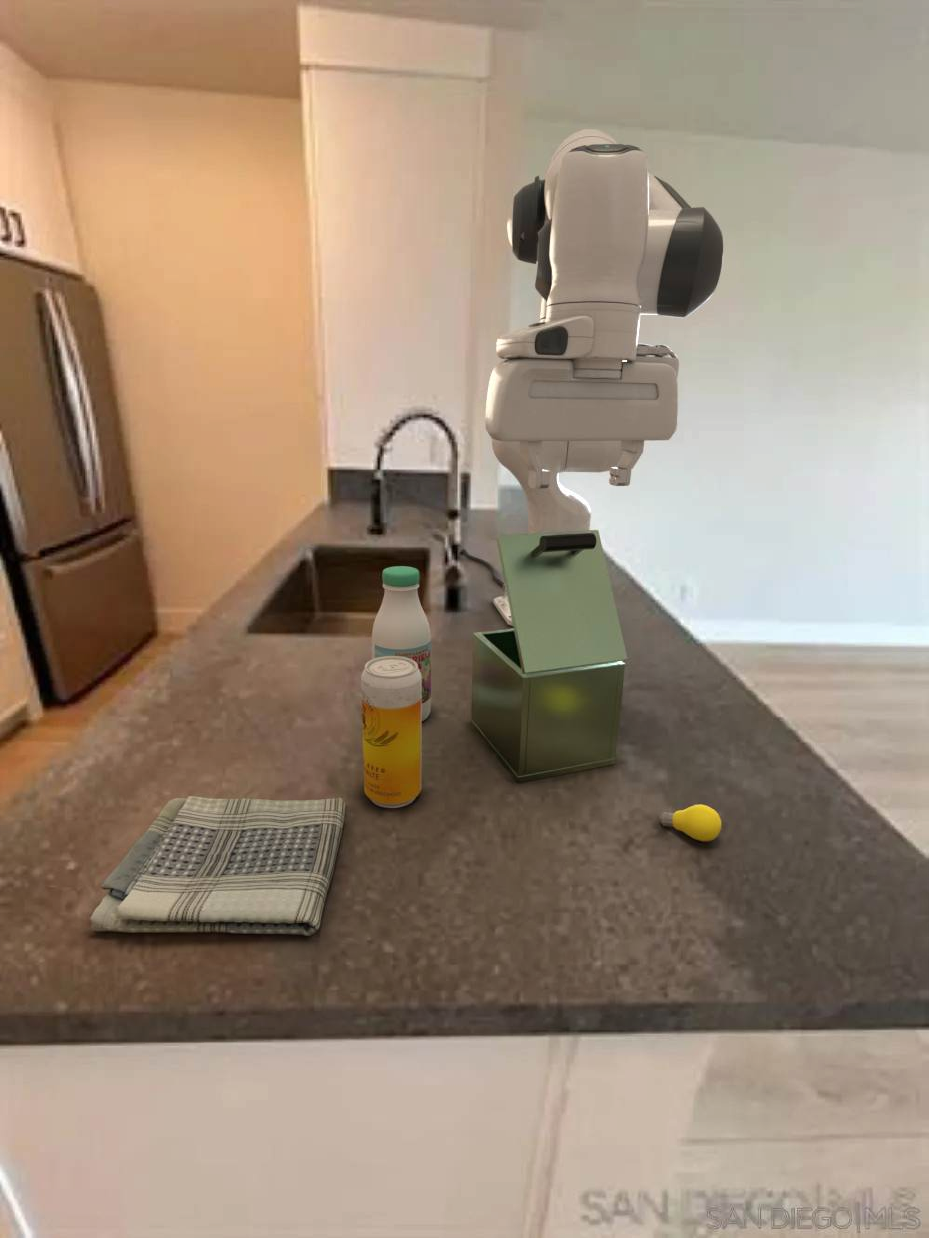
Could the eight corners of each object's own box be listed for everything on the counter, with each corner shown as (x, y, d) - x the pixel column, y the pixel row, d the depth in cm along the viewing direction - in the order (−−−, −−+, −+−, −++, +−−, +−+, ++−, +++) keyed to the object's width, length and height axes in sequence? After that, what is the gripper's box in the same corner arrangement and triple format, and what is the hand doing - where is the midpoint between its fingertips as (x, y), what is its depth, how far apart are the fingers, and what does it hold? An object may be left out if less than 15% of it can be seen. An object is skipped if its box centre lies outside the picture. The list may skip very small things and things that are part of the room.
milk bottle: (361, 714, 90) (356, 569, 84) (403, 696, 95) (402, 559, 89) (399, 733, 85) (398, 581, 79) (442, 714, 91) (444, 570, 84)
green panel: (495, 537, 74) (513, 519, 70) (595, 532, 79) (617, 514, 74) (522, 674, 71) (542, 665, 66) (624, 660, 75) (649, 651, 71)
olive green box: (470, 724, 88) (473, 632, 84) (556, 711, 92) (562, 622, 88) (517, 783, 75) (523, 677, 71) (615, 764, 79) (625, 663, 75)
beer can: (358, 785, 74) (353, 658, 69) (410, 774, 76) (410, 651, 71) (373, 816, 69) (370, 681, 64) (429, 803, 71) (430, 672, 66)
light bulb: (721, 851, 64) (712, 824, 63) (660, 843, 68) (650, 818, 66) (728, 824, 67) (720, 798, 65) (669, 818, 70) (660, 793, 69)
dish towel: (350, 809, 70) (349, 782, 69) (319, 943, 53) (317, 910, 52) (169, 808, 69) (165, 781, 68) (78, 943, 52) (71, 910, 51)
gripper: (661, 347, 71) (647, 480, 75) (481, 338, 64) (477, 485, 68) (700, 344, 65) (683, 487, 70) (508, 334, 58) (502, 494, 63)
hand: (579, 486), depth 69 cm, fingers open, 8 cm apart
